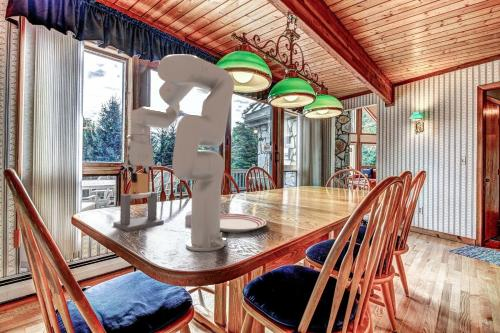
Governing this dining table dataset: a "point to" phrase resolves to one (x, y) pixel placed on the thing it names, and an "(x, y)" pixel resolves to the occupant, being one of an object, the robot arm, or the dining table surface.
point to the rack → (138, 223)
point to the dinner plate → (240, 222)
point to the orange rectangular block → (140, 183)
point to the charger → (188, 218)
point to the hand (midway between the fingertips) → (139, 181)
